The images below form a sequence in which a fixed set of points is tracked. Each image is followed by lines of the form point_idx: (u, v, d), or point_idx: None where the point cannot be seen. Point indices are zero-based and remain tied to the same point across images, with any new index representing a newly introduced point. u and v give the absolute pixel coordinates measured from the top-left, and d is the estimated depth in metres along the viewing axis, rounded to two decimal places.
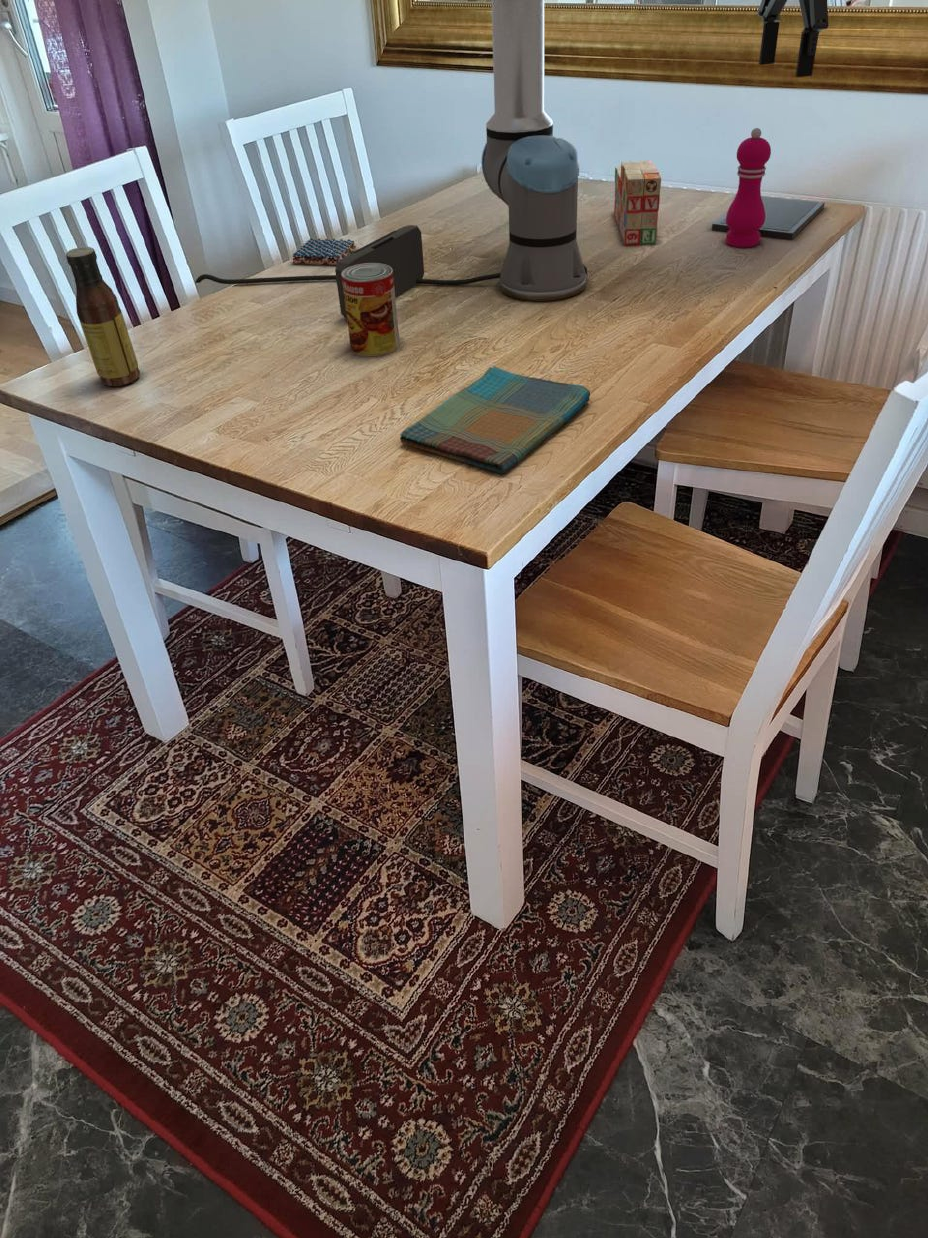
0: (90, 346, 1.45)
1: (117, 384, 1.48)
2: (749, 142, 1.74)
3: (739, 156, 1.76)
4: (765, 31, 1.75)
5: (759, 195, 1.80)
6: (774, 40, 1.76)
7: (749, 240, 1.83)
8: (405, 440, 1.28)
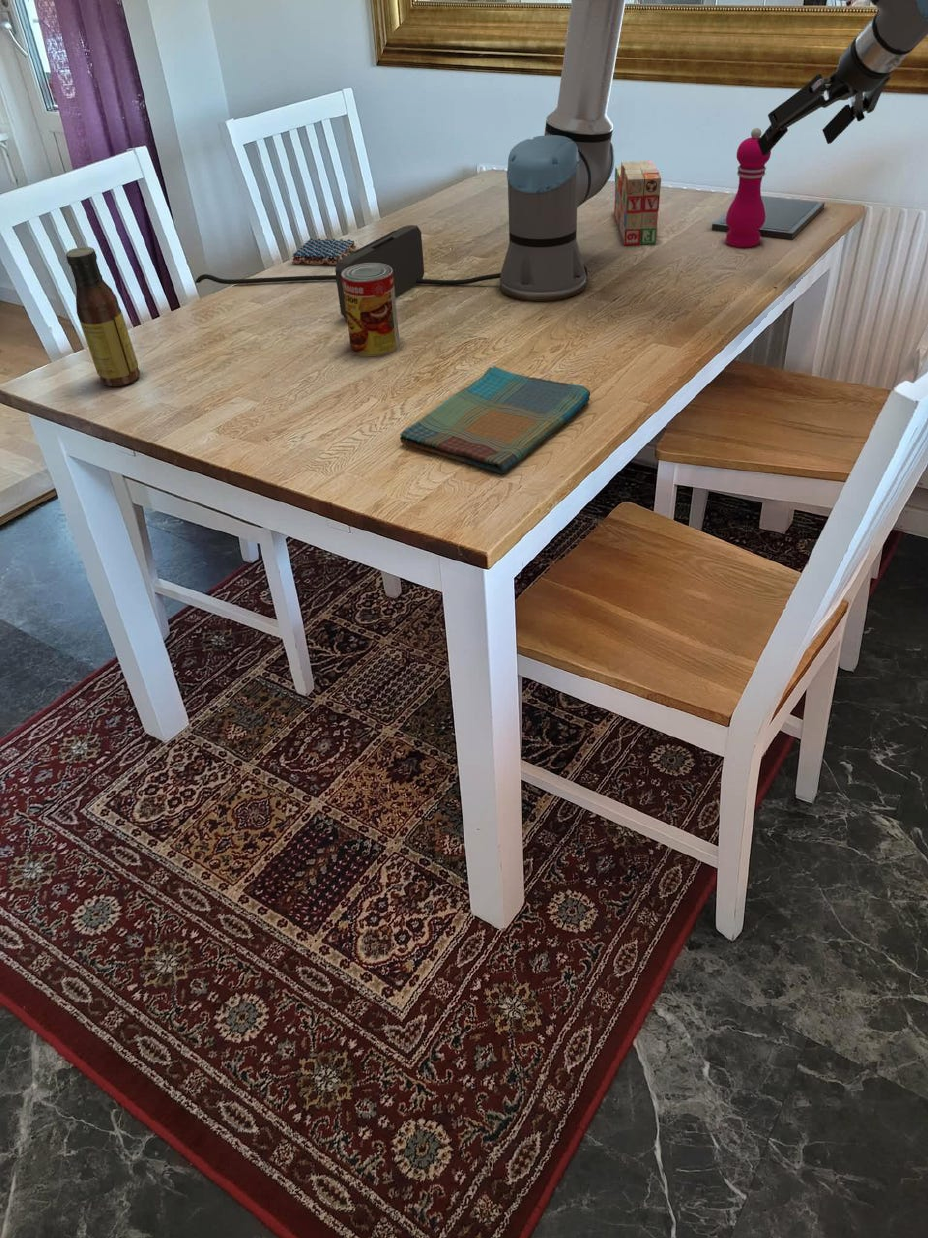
0: (90, 346, 1.45)
1: (117, 384, 1.48)
2: (749, 142, 1.74)
3: (739, 156, 1.76)
4: (841, 110, 1.64)
5: (759, 195, 1.80)
6: (839, 127, 1.65)
7: (749, 240, 1.83)
8: (405, 440, 1.28)
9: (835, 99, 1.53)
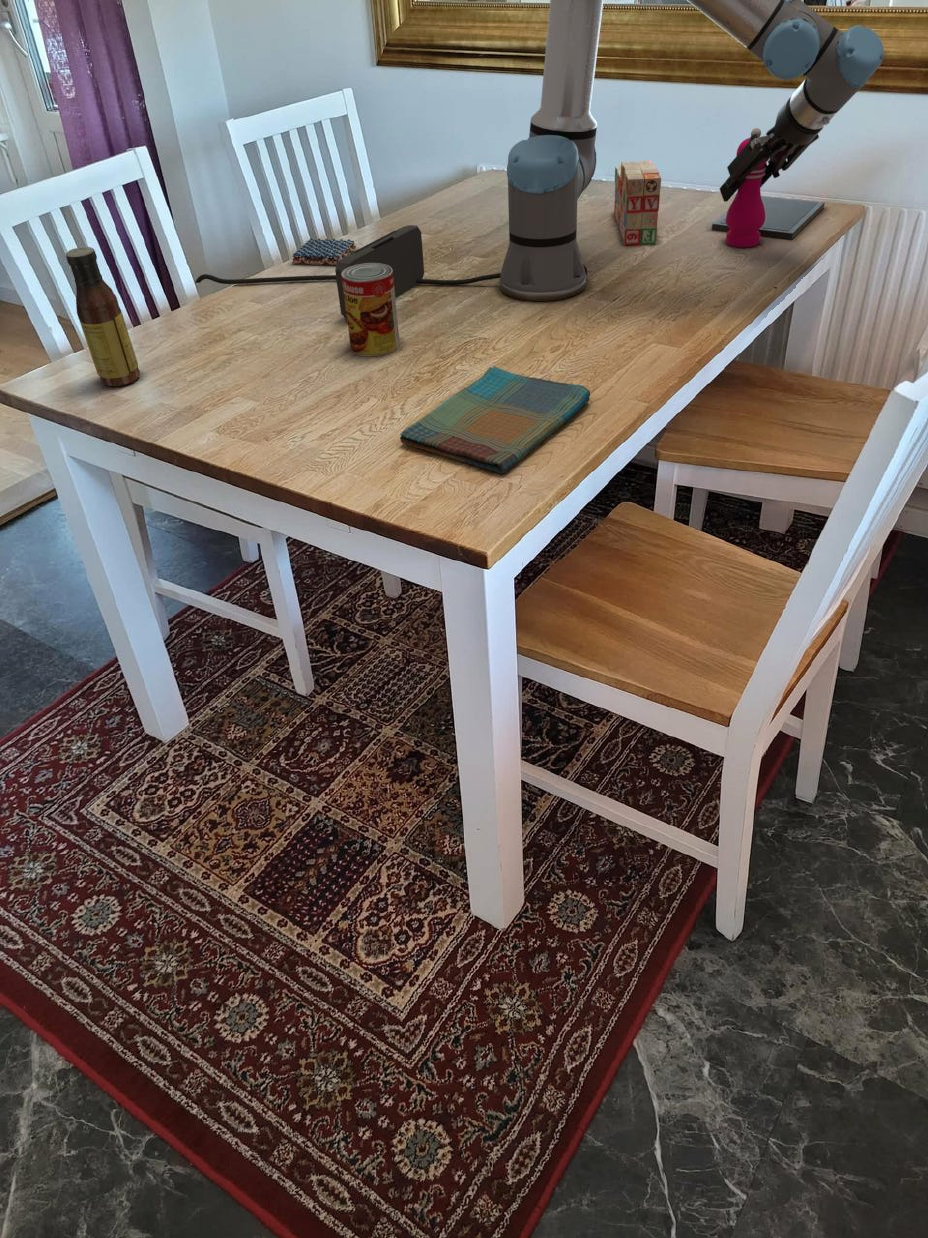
0: (90, 346, 1.45)
1: (117, 384, 1.48)
2: None
3: None
4: None
5: (759, 195, 1.80)
6: None
7: (749, 240, 1.83)
8: (405, 440, 1.28)
9: (775, 151, 1.69)
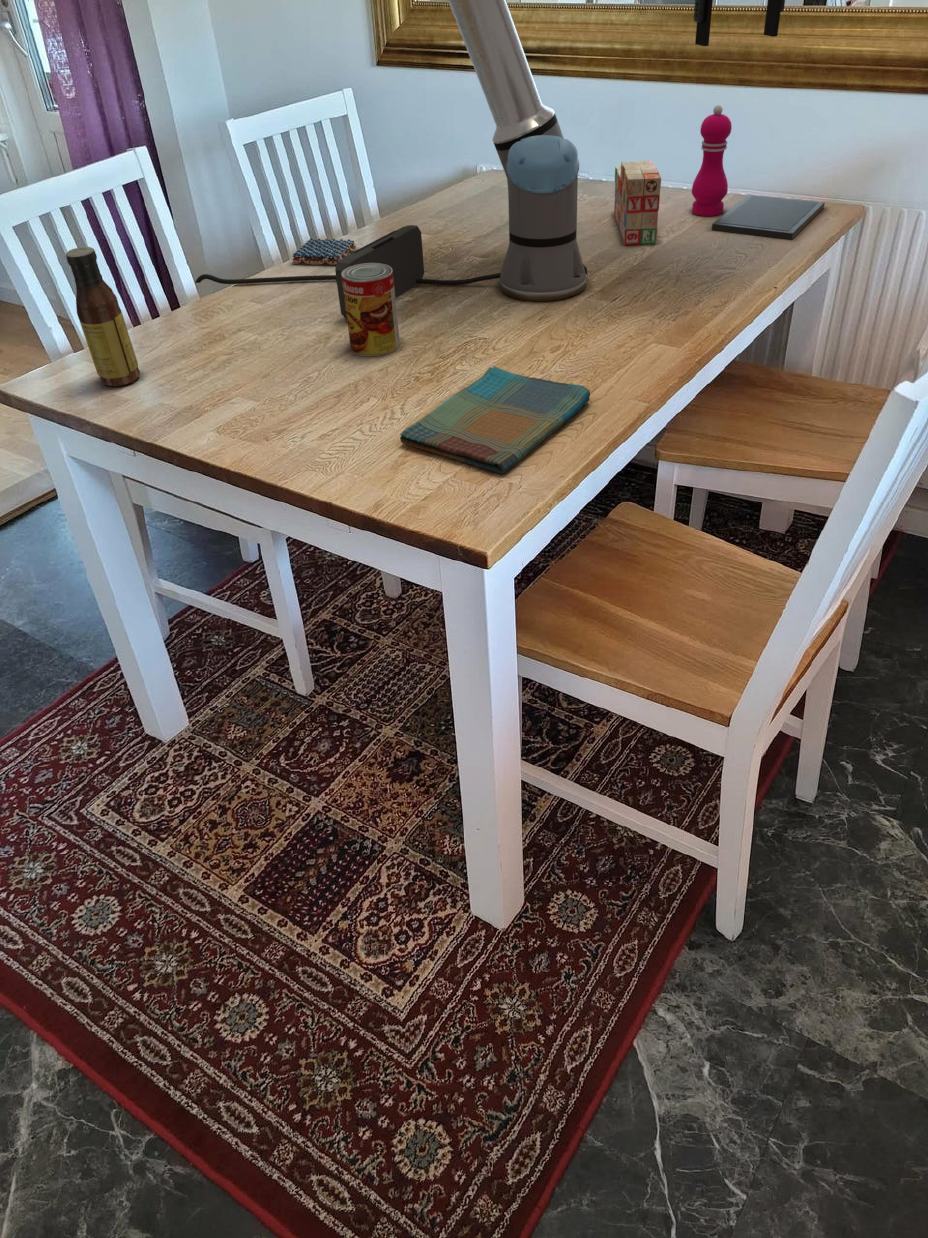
0: (90, 346, 1.45)
1: (117, 384, 1.48)
2: (712, 118, 1.90)
3: (702, 131, 1.92)
4: None
5: (721, 167, 1.96)
6: (774, 9, 1.60)
7: (713, 209, 1.99)
8: (405, 440, 1.28)
9: None
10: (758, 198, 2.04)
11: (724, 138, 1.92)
